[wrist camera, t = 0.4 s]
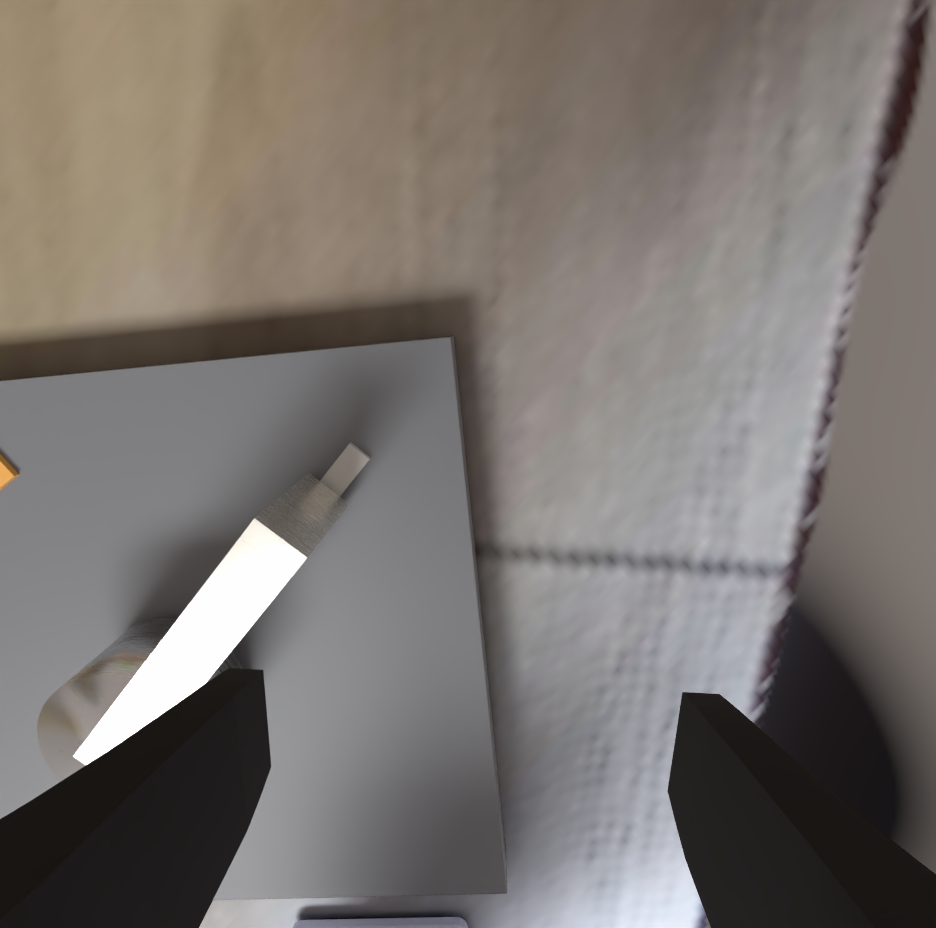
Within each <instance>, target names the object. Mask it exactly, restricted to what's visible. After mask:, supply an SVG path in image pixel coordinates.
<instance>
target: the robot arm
mask: <svg viewBox="0 0 936 928" xmlns="http://www.w3.org/2000/svg"><path fill="white" fill-rule="evenodd" d="M270 769H271V756H270V744H269V732H268V720H267V708H266V696H265V684H264V672H263V670H257V669H238V668H228V669H227V670H225V671H224V672H222V673H220V674H219V675H217V676H216V677H214V678H213V679H211V680H210V681H208V682H207V683H205V684H204V685H203V686H201V687H200V688H198V689H197V690H195V691H194V692H192V693H191V694H190V695H188V696H187V697H185V698H184V699H183V700H181V701H180V702H178V703H177V704H175V705H174V706H173V707H171V708H170V709H168V710H167V711H165V712H164V713H163V714H161V715H160V716H158V717H157V718H155V719H154V720H152V721H151V722H150V723H148V724H147V725H145V726H144V727H142V728H141V729H139V730H138V731H137V732H135V733H134V734H132V735H131V736H129V737H128V738H126V739H125V740H123V741H122V742H121V743H119V744H118V745H116V746H115V747H113V748H112V749H110V750H109V751H107V752H106V753H104V754H103V755H101V756H100V757H98V758H96V759H95V760H93V761H92V762H90V763H89V764H87V765H86V766H84V767H82V768H81V769H79V770H78V771H76V772H75V773H73V774H72V775H70V776H68V777H67V778H65V779H64V780H62V781H61V782H59V783H58V784H56V785H54V786H53V787H51V788H50V789H48V790H47V791H45V792H44V793H42V794H40V795H39V796H37V797H36V798H34V799H33V800H31V801H29V802H28V803H26V804H24V805H23V806H21V807H19V808H18V809H16V810H15V811H13V812H11V813H9V814H8V815H6V816H4V817H3V818H1V819H0V928H199V926H200V924H201V922H202V920H203V918H204V916H205V914H206V912H207V910H208V909H209V907H210V905H211V903H212V901H213V899H214V897H215V895H216V893H217V891H218V889H219V887H220V885H221V883H222V881H223V879H224V877H225V875H226V873H227V871H228V869H229V867H230V865H231V863H232V861H233V859H234V857H235V855H236V853H237V851H238V849H239V847H240V845H241V843H242V841H243V839H244V837H245V835H246V832H247V830H248V828H249V825H250V823H251V820H252V818H253V815H254V813H255V810H256V807H257V805H258V802H259V800H260V797H261V794H262V791H263V789H264V786H265V783H266V780H267V777H268V775H269V772H270ZM668 794H669V798H670V802H671V806H672V810H673V814H674V818H675V822H676V826H677V830H678V833H679V837H680V841H681V844H682V848H683V852H684V855H685V859H686V862H687V864H688V867H689V870H690V872H691V875H692V878H693V881H694V883H695V886H696V889H697V891H698V894H699V897H700V899H701V902H702V905H703V907H704V910H705V913H706V915H707V918H708V921H709V923H710V926H711V928H936V874H935V873H933V872H932V871H931V870H929V869H928V868H927V867H925V866H924V865H923V864H922V863H920V862H919V861H918V860H916V859H915V858H914V857H912V856H911V855H910V854H909V853H908V852H906V851H905V850H904V849H902V848H901V847H900V846H899V845H897V844H896V843H895V842H893V841H892V840H891V839H890V838H888V837H887V836H886V835H885V834H883V833H882V832H881V831H880V830H878V829H877V828H876V827H874V826H873V825H872V824H871V823H869V822H868V821H867V820H866V819H865V818H863V817H862V816H861V815H860V814H858V813H857V812H856V811H855V810H853V809H852V808H851V807H850V806H849V805H847V804H846V803H845V802H844V801H843V800H842V799H840V798H839V797H838V796H837V795H836V794H834V793H833V792H832V791H831V790H830V789H828V788H827V787H826V786H825V785H824V784H823V783H821V782H820V781H819V780H818V779H817V778H815V777H814V776H813V775H812V774H811V773H810V772H808V771H807V770H806V769H805V768H804V767H803V766H802V765H800V764H799V763H798V762H797V761H796V760H795V759H794V758H792V757H791V756H790V755H789V754H788V753H787V752H786V751H784V750H783V749H782V748H781V747H780V746H779V745H778V744H777V743H775V742H774V741H773V740H772V739H771V738H770V737H769V736H767V735H766V734H765V733H764V732H763V731H762V730H761V729H759V728H758V727H757V726H756V725H755V724H754V723H753V722H752V721H750V720H749V719H748V718H747V717H746V716H745V715H744V714H742V713H741V712H740V711H739V710H738V709H737V708H735V707H734V706H733V705H732V704H731V703H730V702H728V701H727V700H726V699H725V698H723V697H722V696H721V695H720V694H706V693H687V692H683V693H682V699H681V706H680V713H679V719H678V726H677V733H676V739H675V746H674V753H673V759H672V766H671V772H670V779H669V786H668ZM293 928H468V925H467V922H466V921H465V920H464V919H462V918H460V917H421V918H373V919H324V920H300V921H297V922H296V923H295V924H294V926H293Z"/></svg>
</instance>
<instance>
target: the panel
mask: <svg viewBox="0 0 936 928" xmlns="http://www.w3.org/2000/svg"><path fill="white" fill-rule="evenodd" d="M307 474H311V475H312V476H313V477H315V478H316V479H317V480H319V481H320V482H321V483H323V484H324V485H325V486H326V487H328V488H329V489H330V490H332V491H333V492H334V493H336V494H337V495H338V496H339V497H341V498H342V499H343V500H345V501H346V502H347V503H349V505H348V507H347V508H346V509H345V511H344V512H343V513H342V514H341V516H340V517H339V518H338V519H337V521H336V522H335V523H334V525H333V526H332V527H331V528H330V530H329V531H328V532H327V533H326V535H325V536H324V537H323V539H322V540H321V541H320V542H319V544H318V545H317V546H316V547H315V549H314V550H313V551H312V553H311V554H310V555H309V556H308V558H307V559H306V560H305V561H304V563H303V564H302V565H301V566H300V567H299V569H298V570H297V571H296V572H295V574H294V575H293V576H292V577H291V579H290V580H289V581H288V582H287V583H286V585H285V586H284V587H283V588H282V590H281V591H280V592H279V593H278V595H277V596H276V597H275V598H274V599H273V601H272V602H271V603H270V604H269V606H268V607H267V608H266V609H265V611H264V612H263V613H262V614H261V615H260V617H259V618H258V619H257V620H256V622H255V623H254V624H253V625H252V627H251V628H250V629H249V630H248V631H247V633H246V634H245V635H244V636H243V638H242V639H241V640H240V641H239V643H238V644H237V645H236V646H235V647H234V649H233V652H234V653H235V655H236V656H237V658H238V659H239V661H240V663H241V666H242V668H243V669H257V670H263V672H264V684H265V696H266V708H267V720H268V732H269V744H270V756H271V769H270V772H269V775H268V777H267V780H266V783H265V786H264V789H263V791H262V794H261V797H260V800H259V802H258V805H257V807H256V810H255V813H254V815H253V818H252V820H251V823H250V825H249V828H248V830H247V832H246V835H245V837H244V839H243V841H242V843H241V845H240V847H239V849H238V851H237V853H236V855H235V857H234V859H233V861H232V863H231V865H230V867H229V869H228V871H227V873H226V875H225V877H224V879H223V881H222V883H221V885H220V887H219V889H218V891H217V893H216V895H215V897H214V899H213V900H249V899H291V898H334V897H376V896H419V895H461V894H504V893H507V871H506V851H505V841H504V831H503V821H502V811H501V801H500V791H499V781H498V771H497V761H496V751H495V741H494V731H493V721H492V711H491V701H490V691H489V681H488V671H487V661H486V651H485V641H484V631H483V621H482V611H481V601H480V591H479V581H478V571H477V561H476V551H475V541H474V531H473V521H472V511H471V501H470V491H469V481H468V471H467V461H466V451H465V441H464V431H463V421H462V411H461V401H460V391H459V382H458V372H457V362H456V352H455V342H454V336H448V337H438V338H428V339H417V340H407V341H397V342H387V343H377V344H366V345H356V346H346V347H336V348H326V349H315V350H305V351H295V352H285V353H274V354H264V355H254V356H244V357H234V358H223V359H213V360H203V361H193V362H183V363H172V364H162V365H152V366H142V367H132V368H121V369H111V370H101V371H91V372H81V373H70V374H60V375H50V376H40V377H29V378H19V379H9V380H0V819H1V818H3V817H4V816H6V815H8V814H9V813H11V812H13V811H15V810H16V809H18V808H19V807H21V806H23V805H24V804H26V803H28V802H29V801H31V800H33V799H34V798H36V797H37V796H39V795H40V794H42V793H44V792H45V791H47V790H48V789H50V788H51V787H53V786H54V785H56V784H58V783H59V782H60V781H59V780H58V779H57V778H56V777H55V775H54V774H53V773H52V771H51V770H50V769H49V767H48V765H47V764H46V762H45V760H44V758H43V756H42V753H41V751H40V747H39V744H38V737H37V723H38V718H39V715H40V712H41V709H42V707H43V706H44V704H45V702H46V701H47V700H48V698H49V697H50V696H51V695H52V694H53V693H54V692H55V691H57V690H58V689H59V688H60V687H61V686H62V685H64V684H65V683H66V682H67V681H68V680H70V679H71V678H72V677H73V676H74V675H75V674H77V673H78V672H79V671H80V670H81V669H83V668H84V667H85V666H86V665H87V664H88V663H90V662H91V661H92V660H93V659H94V658H96V657H97V656H98V655H99V654H100V653H101V652H103V651H104V650H105V649H106V648H107V647H109V646H110V645H111V644H112V643H113V642H114V641H116V640H117V639H118V638H119V637H120V636H122V635H123V634H124V633H125V632H126V631H127V630H129V629H130V628H132V627H133V626H135V625H137V624H139V623H141V622H144V621H147V620H151V619H157V618H176V619H178V618H179V617H180V615H181V614H182V613H183V611H184V610H185V609H186V607H187V606H188V605H189V603H190V602H191V601H192V600H193V598H194V597H195V596H196V594H197V593H198V592H199V590H200V589H201V588H202V586H203V585H204V584H205V582H206V581H207V580H208V579H209V577H210V576H211V575H212V573H213V572H214V571H215V569H216V568H217V567H218V565H219V564H220V563H221V561H222V560H223V559H224V558H225V556H226V555H227V554H228V552H229V551H230V550H231V548H232V547H233V546H234V544H235V543H236V542H237V540H238V539H239V538H240V537H241V535H242V534H243V533H244V531H245V530H246V529H247V527H248V526H249V525H250V523H251V522H252V521H253V519H254V518H255V517H257V516H258V515H259V514H260V513H261V512H263V511H264V510H265V509H266V508H267V507H269V506H270V505H271V504H272V503H273V502H275V501H276V500H277V499H278V498H279V497H281V496H282V495H283V494H284V493H286V492H287V491H288V490H289V489H290V488H292V487H293V486H294V485H295V484H296V483H298V482H299V481H300V480H301V479H302V478H304V477H305V476H306V475H307Z"/></svg>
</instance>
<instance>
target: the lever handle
mask: <svg viewBox="0 0 936 928" xmlns="http://www.w3.org/2000/svg"><path fill="white" fill-rule="evenodd" d="M348 505H349V503H347V502H346V501H345V500H343V499H342V498H341V497H339V496H338V495H337V494H336V493H334V492H333V491H332V490H330V489H329V488H328V487H326V486H325V485H324V484H323V483H321V482H320V481H319V480H317V479H316V478H315V477H313V476H312V475H311V474H307V475H306V476H305V477H304V478H302V479H301V480H300V481H299V482H298V483H296V484H295V485H294V486H293V487H292V488H290V489H289V490H288V491H287V492H286V493H284V494H283V495H282V496H281V497H279V498H278V499H277V500H276V501H275V502H273V503H272V504H271V505H270V506H269V507H267V508H266V509H265V510H264V511H263V512H261V513H260V514H259V515H258V516H257V517H255V518H254V519H253V521H252V522H251V523H250V525H249V526H248V527H247V529H246V530H245V531H244V533H243V534H242V535H241V537H240V538H239V539H238V540H237V542H236V543H235V544H234V546H233V547H232V548H231V550H230V551H229V552H228V554H227V555H226V556H225V558H224V559H223V560H222V561H221V563H220V564H219V565H218V567H217V568H216V569H215V571H214V572H213V573H212V575H211V576H210V577H209V579H208V580H207V581H206V582H205V584H204V585H203V586H202V588H201V589H200V590H199V592H198V593H197V594H196V596H195V597H194V598H193V600H192V601H191V602H190V603H189V605H188V606H187V607H186V609H185V610H184V611H183V613H182V614H181V615H180V617H179V618H178V619H176V618H157V619H151V620H147V621H144V622H141V623H139V624H137V625H135V626H133V627H132V628H130V629H129V630H127V631H126V632H125V633H124V634H123V635H122V636H120V637H119V638H118V639H117V640H116V641H114V642H113V643H112V644H111V645H110V646H109V647H107V648H106V649H105V650H104V651H103V652H101V653H100V654H99V655H98V656H97V657H96V658H94V659H93V660H92V661H91V662H90V663H88V664H87V665H86V666H85V667H84V668H83V669H81V670H80V671H79V672H78V673H77V674H75V675H74V676H73V677H72V678H71V679H70V680H68V681H67V682H66V683H65V684H64V685H62V686H61V687H60V688H59V689H58V690H57V691H55V692H54V693H53V694H52V695H51V696H50V697H49V698H48V700H47V701H46V702H45V704H44V706H43V707H42V709H41V712H40V715H39V718H38V723H37V737H38V744H39V747H40V751H41V753H42V756H43V758H44V760H45V762H46V764H47V765H48V767H49V769H50V770H51V771H52V773H53V774H54V775H55V777H56V778H57V779H58V780H59V781H60V782H61V781H62V780H64V779H65V778H67V777H68V776H70V775H72V774H73V773H75V772H76V771H78V770H79V769H81V768H82V767H84V766H86V765H87V764H89V763H90V762H92V761H93V760H95V759H96V758H98V757H100V756H101V755H103V754H104V753H106V752H107V751H109V750H110V749H112V748H113V747H115V746H116V745H118V744H119V743H121V742H122V741H123V740H125V739H126V738H128V737H129V736H131V735H132V734H134V733H135V732H137V731H138V730H139V729H141V728H142V727H144V726H145V725H147V724H148V723H150V722H151V721H152V720H154V719H155V718H157V717H158V716H160V715H161V714H163V713H164V712H165V711H167V710H168V709H170V708H171V707H173V706H174V705H175V704H177V703H178V702H180V701H181V700H183V699H184V698H185V697H187V696H188V695H190V694H191V693H192V692H194V691H195V690H197V689H198V688H200V687H201V686H203V685H204V684H205V683H207V682H208V681H210V680H211V679H213V678H214V677H216V676H217V675H219V674H220V673H222V672H224V671H225V670H227V669H228V668H238V669H243V668H242V666H241V663H240V661H239V659H238V658H237V656H236V655H235V653H234V652H233V649H234V647H235V646H236V645H237V644H238V643H239V641H240V640H241V639H242V638H243V636H244V635H245V634H246V633H247V631H248V630H249V629H250V628H251V627H252V625H253V624H254V623H255V622H256V620H257V619H258V618H259V617H260V615H261V614H262V613H263V612H264V611H265V609H266V608H267V607H268V606H269V604H270V603H271V602H272V601H273V599H274V598H275V597H276V596H277V595H278V593H279V592H280V591H281V590H282V588H283V587H284V586H285V585H286V583H287V582H288V581H289V580H290V579H291V577H292V576H293V575H294V574H295V572H296V571H297V570H298V569H299V567H300V566H301V565H302V564H303V563H304V561H305V560H306V559H307V558H308V556H309V555H310V554H311V553H312V551H313V550H314V549H315V547H316V546H317V545H318V544H319V542H320V541H321V540H322V539H323V537H324V536H325V535H326V533H327V532H328V531H329V530H330V528H331V527H332V526H333V525H334V523H335V522H336V521H337V519H338V518H339V517H340V516H341V514H342V513H343V512H344V511H345V509H346V508H347V507H348Z"/></svg>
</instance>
